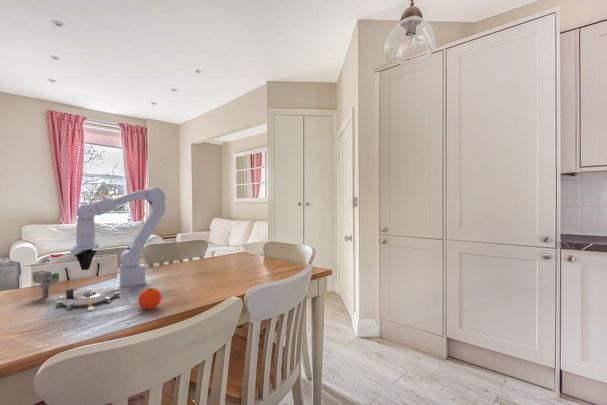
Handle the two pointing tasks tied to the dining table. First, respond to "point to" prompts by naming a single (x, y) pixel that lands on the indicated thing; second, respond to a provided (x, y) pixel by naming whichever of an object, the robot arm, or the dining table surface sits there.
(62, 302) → the sprocket
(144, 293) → the clementine
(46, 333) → the dining table surface
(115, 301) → the index board
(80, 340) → the dining table surface
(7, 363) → the dining table surface
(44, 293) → the mechanical component
